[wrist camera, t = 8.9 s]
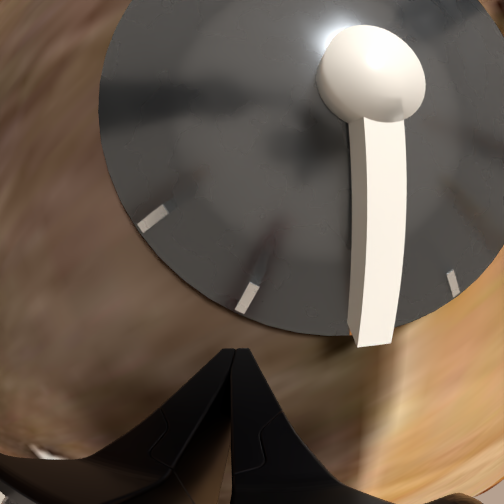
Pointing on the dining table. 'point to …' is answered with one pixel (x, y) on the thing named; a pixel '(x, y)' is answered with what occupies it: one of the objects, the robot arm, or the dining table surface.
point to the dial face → (299, 151)
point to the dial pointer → (374, 164)
